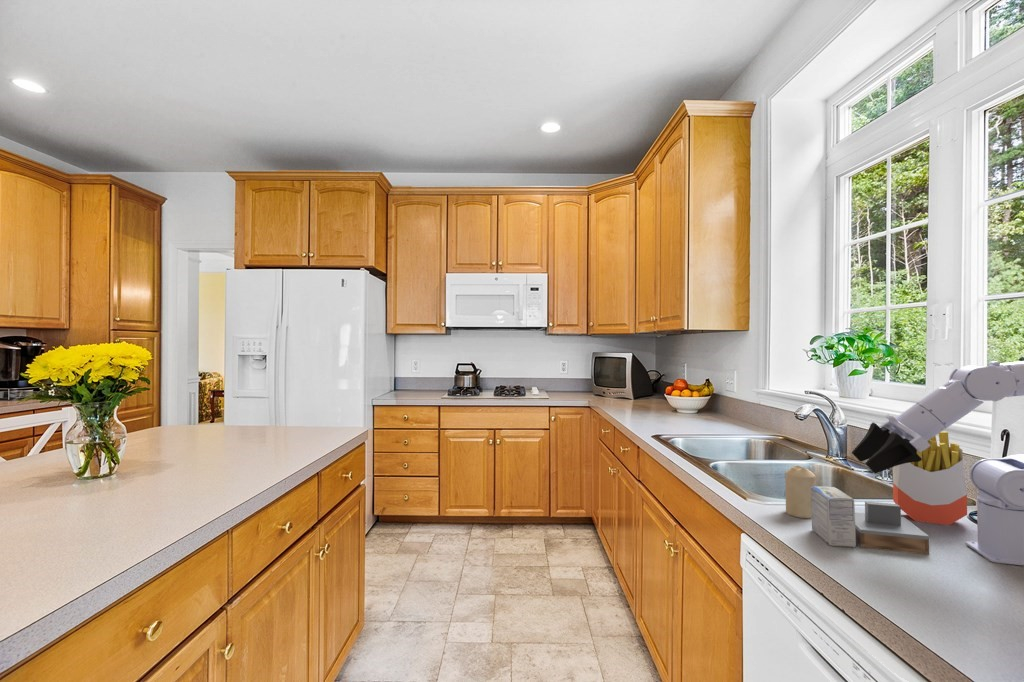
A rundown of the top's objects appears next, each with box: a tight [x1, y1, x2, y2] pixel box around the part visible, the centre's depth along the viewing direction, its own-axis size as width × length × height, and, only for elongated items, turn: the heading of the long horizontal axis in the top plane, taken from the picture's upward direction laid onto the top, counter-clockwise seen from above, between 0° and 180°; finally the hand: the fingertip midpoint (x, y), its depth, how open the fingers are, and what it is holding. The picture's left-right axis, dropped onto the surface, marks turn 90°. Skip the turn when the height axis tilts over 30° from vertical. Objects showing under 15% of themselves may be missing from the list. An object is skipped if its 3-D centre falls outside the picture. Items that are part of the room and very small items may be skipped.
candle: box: [784, 465, 816, 519], centre depth 104 cm, size 6×6×10 cm
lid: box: [855, 500, 930, 541], centre depth 90 cm, size 10×10×5 cm
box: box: [855, 528, 930, 555], centre depth 90 cm, size 10×10×2 cm
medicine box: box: [811, 485, 857, 548], centre depth 91 cm, size 8×4×9 cm, turn 168°
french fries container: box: [892, 430, 968, 526], centre depth 100 cm, size 5×11×18 cm, turn 63°
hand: (862, 462), depth 90 cm, fingers open, 7 cm apart
